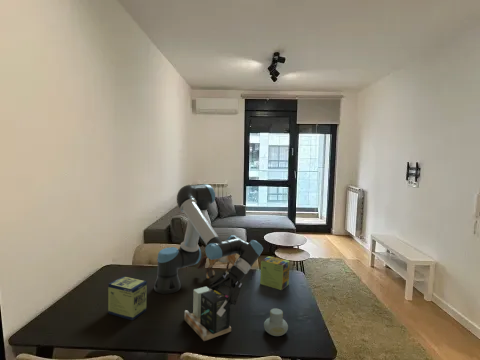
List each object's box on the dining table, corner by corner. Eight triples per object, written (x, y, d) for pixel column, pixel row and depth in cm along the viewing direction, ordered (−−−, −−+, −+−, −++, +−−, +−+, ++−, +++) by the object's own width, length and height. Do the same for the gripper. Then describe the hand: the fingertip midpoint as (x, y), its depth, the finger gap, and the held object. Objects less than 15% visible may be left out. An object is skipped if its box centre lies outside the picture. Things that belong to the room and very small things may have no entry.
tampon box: (230, 328, 137) (231, 297, 135) (212, 335, 131) (213, 302, 130) (216, 317, 145) (217, 288, 144) (199, 323, 139) (200, 293, 138)
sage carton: (193, 313, 148) (193, 289, 147) (205, 309, 152) (206, 286, 151) (197, 317, 144) (198, 293, 143) (210, 313, 148) (211, 290, 147)
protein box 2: (282, 290, 181) (283, 265, 180) (259, 284, 189) (260, 260, 188) (289, 284, 190) (290, 260, 189) (267, 278, 198) (268, 255, 197)
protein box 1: (133, 320, 144) (133, 289, 142) (107, 313, 149) (107, 283, 148) (147, 310, 153) (147, 281, 152) (122, 304, 159) (122, 275, 158)
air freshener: (285, 327, 142) (286, 307, 142) (289, 337, 134) (290, 316, 133) (262, 327, 142) (263, 306, 141) (264, 337, 134) (265, 316, 133)
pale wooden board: (184, 319, 146) (184, 310, 146) (209, 311, 154) (210, 303, 154) (203, 341, 130) (203, 331, 129) (231, 331, 138) (231, 321, 137)
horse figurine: (242, 272, 207) (243, 243, 205) (244, 277, 199) (245, 246, 198) (196, 275, 200) (197, 244, 198) (197, 280, 193) (198, 248, 191)
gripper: (221, 257, 151) (193, 293, 144) (250, 274, 131) (220, 316, 124) (229, 265, 155) (203, 300, 148) (260, 283, 134) (230, 325, 127)
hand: (210, 308), depth 136 cm, fingers open, 13 cm apart
